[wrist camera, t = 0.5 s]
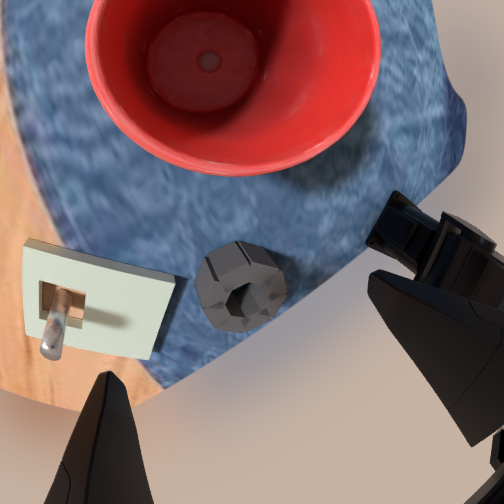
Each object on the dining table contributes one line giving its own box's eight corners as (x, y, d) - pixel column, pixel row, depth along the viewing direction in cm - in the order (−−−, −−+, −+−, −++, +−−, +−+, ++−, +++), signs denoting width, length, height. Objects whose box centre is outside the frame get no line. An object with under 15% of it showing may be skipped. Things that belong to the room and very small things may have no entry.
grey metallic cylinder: (72, 291, 18) (61, 347, 14) (71, 306, 19) (61, 362, 14) (55, 286, 18) (39, 342, 13) (54, 302, 18) (40, 357, 13)
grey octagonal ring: (282, 253, 24) (300, 274, 21) (250, 311, 26) (263, 334, 23) (214, 233, 21) (226, 255, 18) (185, 300, 23) (193, 326, 20)
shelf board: (173, 274, 21) (175, 283, 20) (147, 350, 24) (148, 360, 23) (28, 237, 15) (23, 245, 14) (28, 325, 18) (25, 334, 17)
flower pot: (299, 110, 18) (403, 130, 10) (152, 167, 17) (158, 230, 9) (257, -17, 12) (342, -75, 4) (96, 29, 10) (54, -34, 3)
